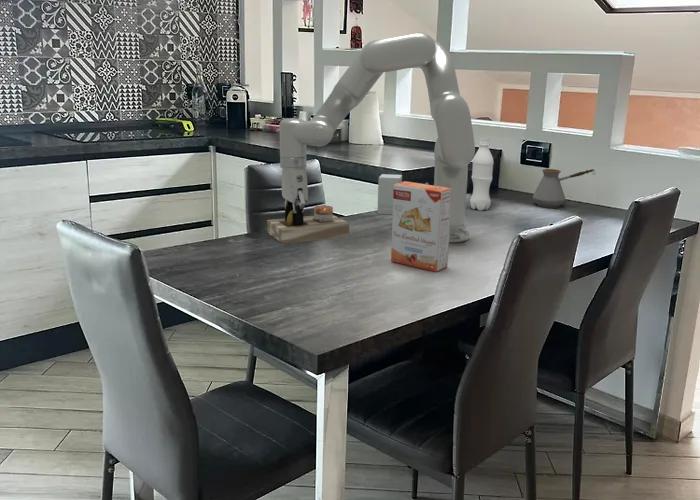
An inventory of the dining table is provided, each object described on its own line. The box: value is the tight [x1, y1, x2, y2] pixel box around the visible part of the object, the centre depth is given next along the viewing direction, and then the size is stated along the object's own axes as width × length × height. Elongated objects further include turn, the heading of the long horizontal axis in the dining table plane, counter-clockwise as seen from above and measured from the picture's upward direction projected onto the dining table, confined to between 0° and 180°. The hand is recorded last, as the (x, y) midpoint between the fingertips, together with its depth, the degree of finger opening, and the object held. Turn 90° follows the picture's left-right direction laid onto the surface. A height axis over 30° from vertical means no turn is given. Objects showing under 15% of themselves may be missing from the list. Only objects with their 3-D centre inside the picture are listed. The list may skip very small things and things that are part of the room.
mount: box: [266, 214, 350, 245], centre depth 203 cm, size 13×21×4 cm, turn 116°
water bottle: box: [469, 136, 495, 211], centre depth 237 cm, size 7×7×25 cm
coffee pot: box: [532, 168, 596, 209], centre depth 242 cm, size 21×12×15 cm, turn 51°
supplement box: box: [376, 173, 403, 216], centre depth 232 cm, size 7×7×13 cm
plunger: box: [313, 204, 334, 223], centre depth 204 cm, size 6×6×4 cm
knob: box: [287, 210, 294, 227], centre depth 200 cm, size 5×5×5 cm
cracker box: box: [390, 181, 452, 273], centre depth 173 cm, size 14×6×21 cm, turn 53°
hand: (294, 223), depth 201 cm, fingers open, 5 cm apart
